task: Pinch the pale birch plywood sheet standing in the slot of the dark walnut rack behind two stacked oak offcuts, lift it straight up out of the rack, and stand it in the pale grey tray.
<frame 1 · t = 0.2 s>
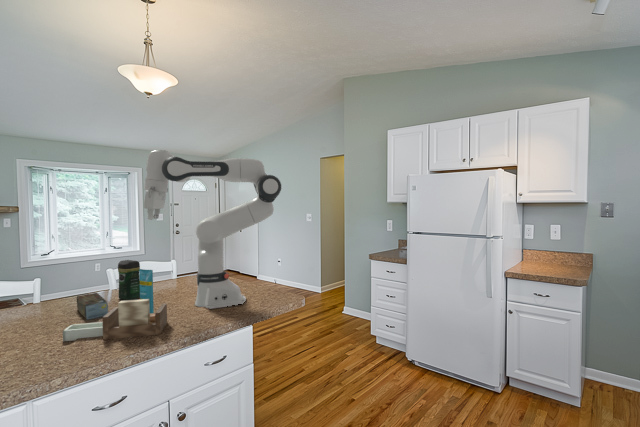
hand: (153, 219, 143), 39 cm above the table, tool pointing down, fingers open, 8 cm apart
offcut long: (146, 327, 120), point 1 cm above the table, touching offcut short, rack
tray: (88, 336, 114), on the table
rack: (135, 334, 115), on the table
sheet: (134, 335, 114), resting in rack
coffee jar: (129, 298, 160), on the table
offcut short: (148, 321, 120), point 3 cm above the table, touching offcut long
beverage carton: (92, 313, 139), on the table
tube: (146, 317, 133), on the table
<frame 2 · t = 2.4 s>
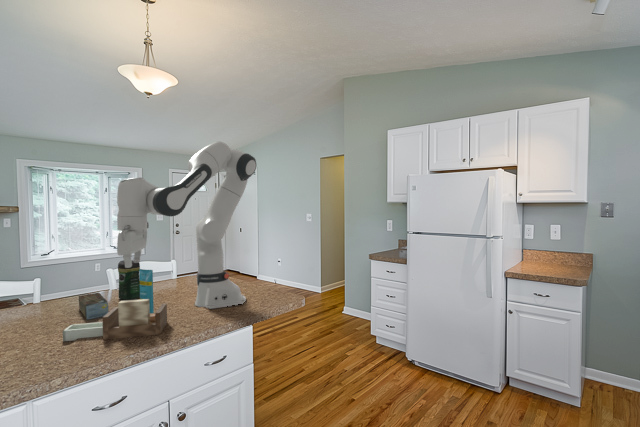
hand: (132, 264, 113), 24 cm above the table, tool pointing down, fingers open, 8 cm apart
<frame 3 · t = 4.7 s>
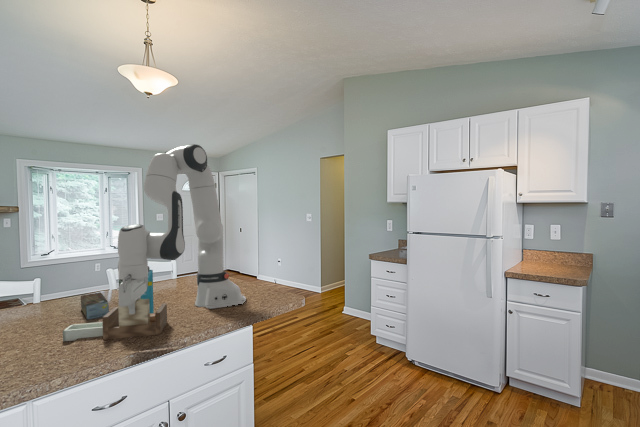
hand: (134, 311, 114), 8 cm above the table, tool pointing down, fingers closed on sheet, 2 cm apart
sheet: (134, 335, 114), resting in rack, touching gripper
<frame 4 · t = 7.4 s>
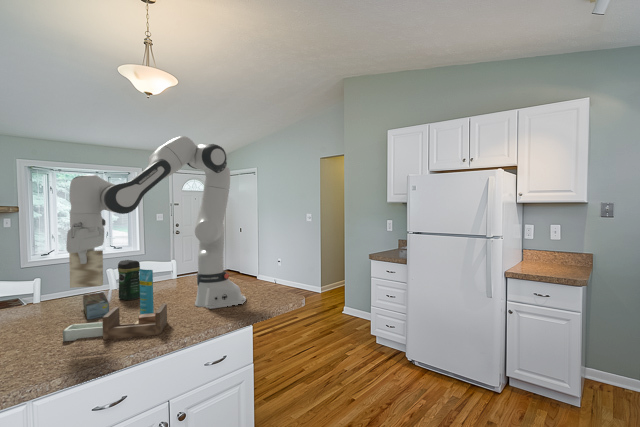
hand: (86, 262, 113), 26 cm above the table, tool pointing down, fingers closed on sheet, 2 cm apart
sheet: (86, 286, 113), point 17 cm above the table, touching gripper
when the fingers open (10 cm above the table, at t = 10.6 s): sheet stays where it is, resting on tray.
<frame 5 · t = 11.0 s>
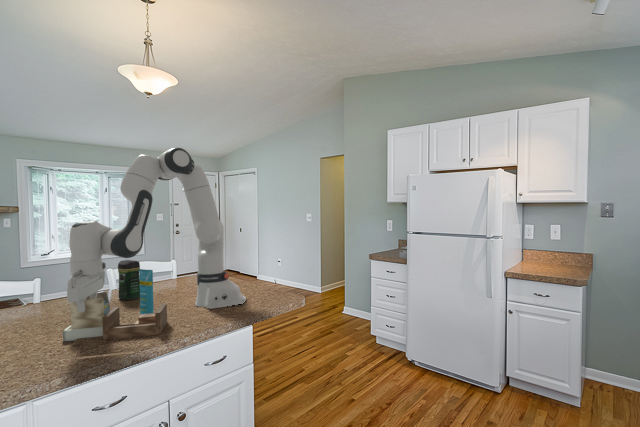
hand: (87, 308, 113), 10 cm above the table, tool pointing down, fingers open, 6 cm apart
sheet: (88, 334, 114), point 1 cm above the table, touching tray
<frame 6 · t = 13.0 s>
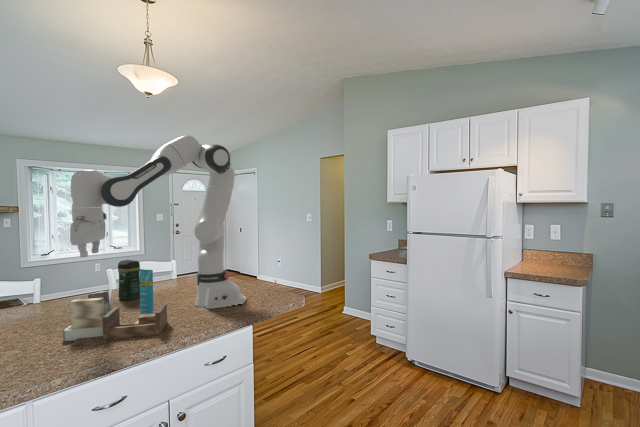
hand: (89, 255, 117), 27 cm above the table, tool pointing down, fingers open, 8 cm apart
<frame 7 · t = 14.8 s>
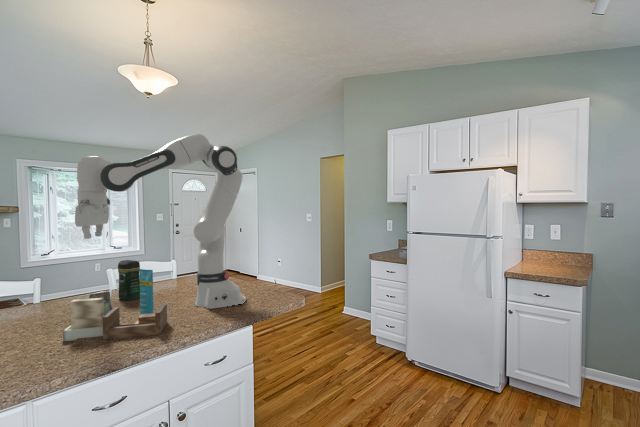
hand: (93, 237, 122), 33 cm above the table, tool pointing down, fingers open, 8 cm apart
at the end: sheet inside the target area on the tray (0.1 cm from its centre), point 0.6 cm above the tray's base; sheet tilted 0°; the gripper is holding nothing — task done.
